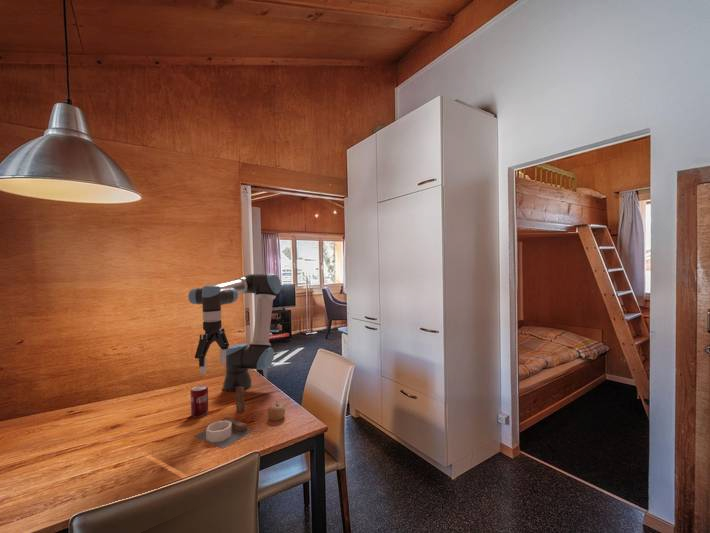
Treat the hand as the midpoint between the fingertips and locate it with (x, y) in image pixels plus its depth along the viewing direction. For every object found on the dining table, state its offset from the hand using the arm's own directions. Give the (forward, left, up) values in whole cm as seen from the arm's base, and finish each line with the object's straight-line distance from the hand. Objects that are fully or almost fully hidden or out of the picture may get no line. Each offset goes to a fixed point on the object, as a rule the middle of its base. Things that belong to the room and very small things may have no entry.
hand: (213, 368), depth 140 cm
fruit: (-13, +25, -23) cm, 36 cm away
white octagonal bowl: (+9, +16, -22) cm, 28 cm away
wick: (+2, +16, -22) cm, 27 cm away
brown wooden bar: (-9, +6, -23) cm, 25 cm away
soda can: (0, -11, -23) cm, 25 cm away
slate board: (+7, +16, -23) cm, 28 cm away
